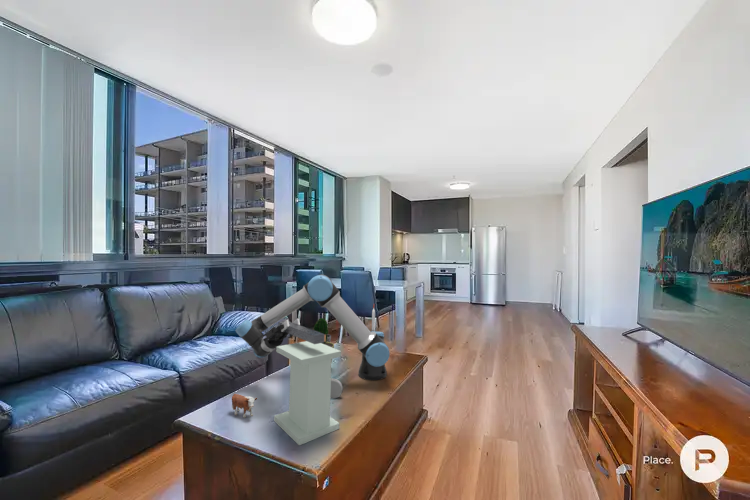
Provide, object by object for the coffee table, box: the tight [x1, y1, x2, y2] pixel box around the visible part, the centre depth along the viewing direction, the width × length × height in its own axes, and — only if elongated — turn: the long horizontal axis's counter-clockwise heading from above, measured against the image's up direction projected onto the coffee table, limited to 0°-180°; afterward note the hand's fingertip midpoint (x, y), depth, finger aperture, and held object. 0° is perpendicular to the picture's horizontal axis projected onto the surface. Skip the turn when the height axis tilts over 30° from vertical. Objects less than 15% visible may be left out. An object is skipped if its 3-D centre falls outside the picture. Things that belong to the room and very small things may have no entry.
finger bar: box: [277, 320, 326, 344], centre depth 120 cm, size 30×5×3 cm, turn 41°
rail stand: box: [273, 340, 342, 446], centre depth 114 cm, size 20×16×28 cm
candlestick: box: [371, 304, 376, 331], centre depth 191 cm, size 11×11×35 cm
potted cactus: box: [313, 317, 335, 364], centre depth 167 cm, size 15×15×30 cm
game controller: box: [330, 377, 343, 400], centre depth 138 cm, size 20×2×8 cm, turn 83°
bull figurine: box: [231, 393, 258, 419], centre depth 120 cm, size 4×13×8 cm, turn 58°
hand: (293, 322), depth 124 cm, fingers closed on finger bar, 4 cm apart
